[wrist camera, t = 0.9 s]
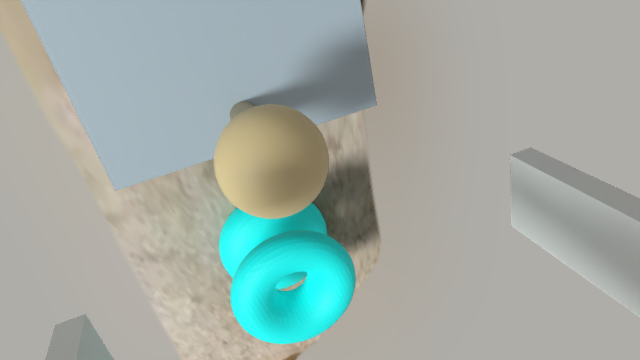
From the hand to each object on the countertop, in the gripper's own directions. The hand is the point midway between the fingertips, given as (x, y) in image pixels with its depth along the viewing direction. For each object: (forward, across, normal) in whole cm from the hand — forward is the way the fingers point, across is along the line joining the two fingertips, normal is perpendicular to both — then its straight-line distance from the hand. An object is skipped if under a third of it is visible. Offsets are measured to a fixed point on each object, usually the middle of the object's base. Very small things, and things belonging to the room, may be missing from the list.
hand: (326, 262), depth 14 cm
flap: (+15, 0, +9) cm, 18 cm away
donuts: (+26, 0, -15) cm, 30 cm away
